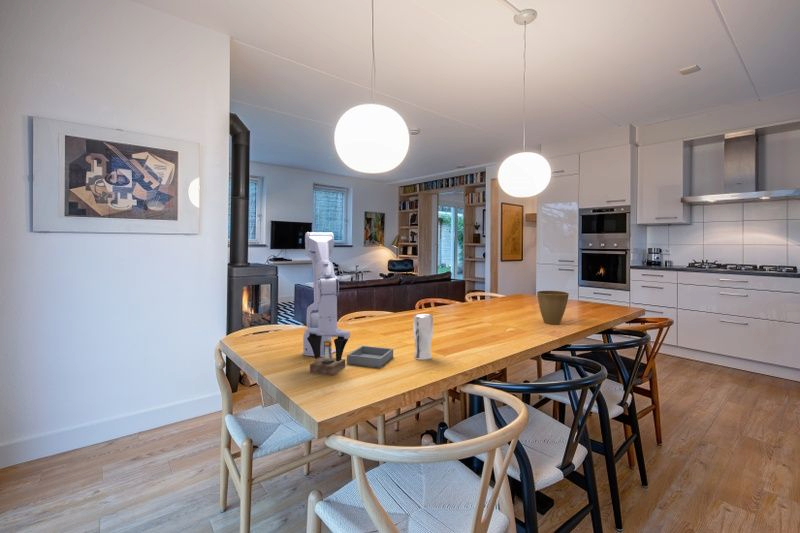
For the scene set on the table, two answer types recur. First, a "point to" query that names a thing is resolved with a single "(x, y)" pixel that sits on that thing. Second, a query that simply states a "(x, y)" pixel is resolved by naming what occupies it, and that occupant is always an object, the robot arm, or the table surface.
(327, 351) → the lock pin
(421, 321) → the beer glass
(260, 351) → the table surface
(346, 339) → the robot arm
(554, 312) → the plant pot
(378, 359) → the tray
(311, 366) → the block
